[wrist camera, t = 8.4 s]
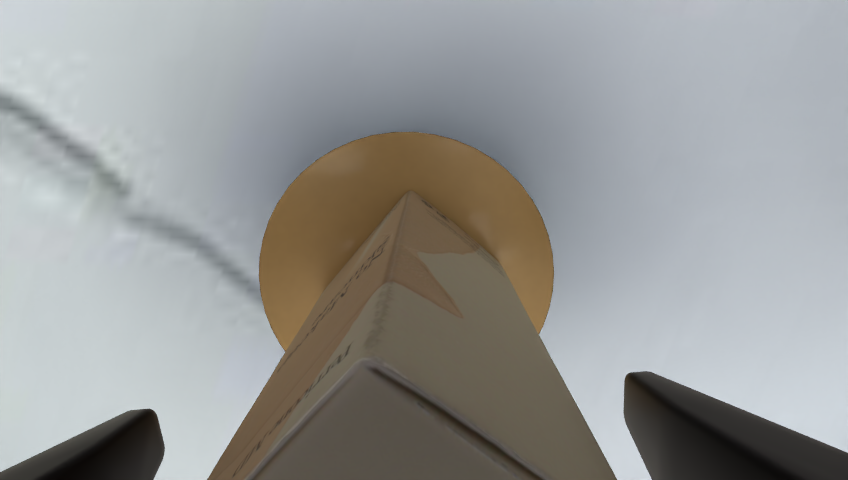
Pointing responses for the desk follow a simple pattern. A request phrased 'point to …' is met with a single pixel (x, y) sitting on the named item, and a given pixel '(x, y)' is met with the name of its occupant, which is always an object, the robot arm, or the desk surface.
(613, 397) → the desk surface
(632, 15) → the desk surface
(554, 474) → the box
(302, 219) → the tin
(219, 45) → the desk surface
